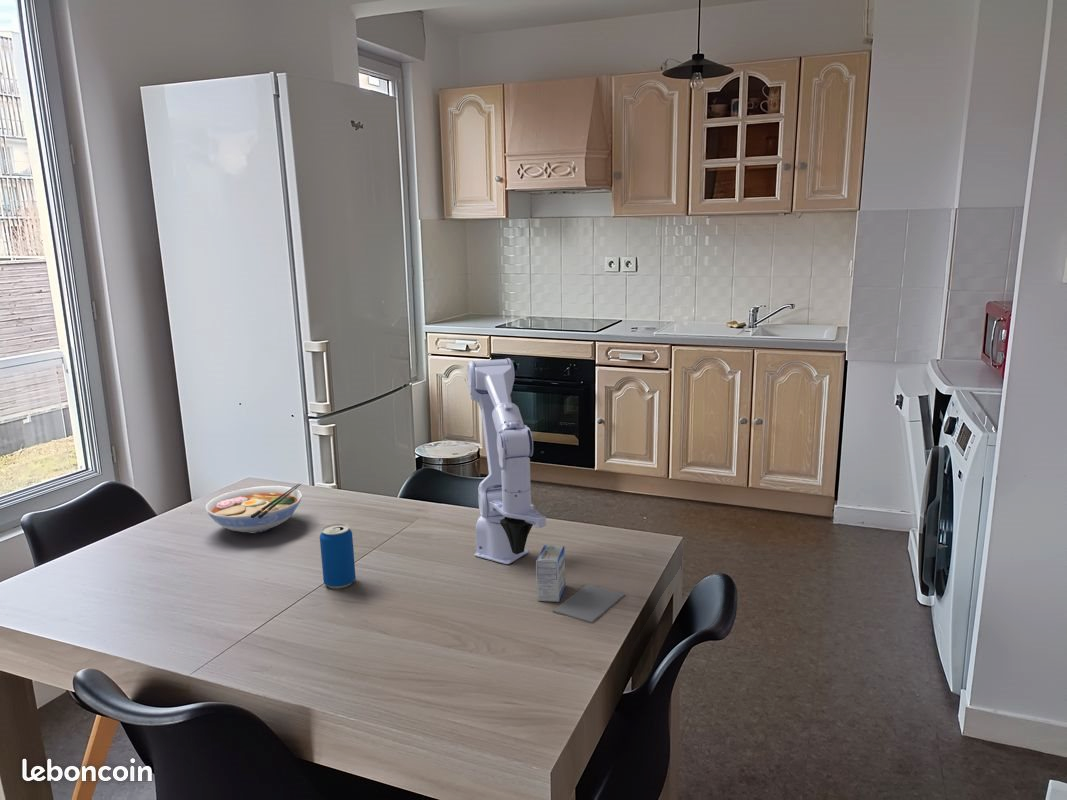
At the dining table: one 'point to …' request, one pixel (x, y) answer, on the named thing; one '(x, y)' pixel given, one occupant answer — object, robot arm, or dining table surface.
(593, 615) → the mat
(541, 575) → the medicine box
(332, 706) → the dining table surface
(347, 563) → the beverage can
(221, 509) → the ramen bowl
